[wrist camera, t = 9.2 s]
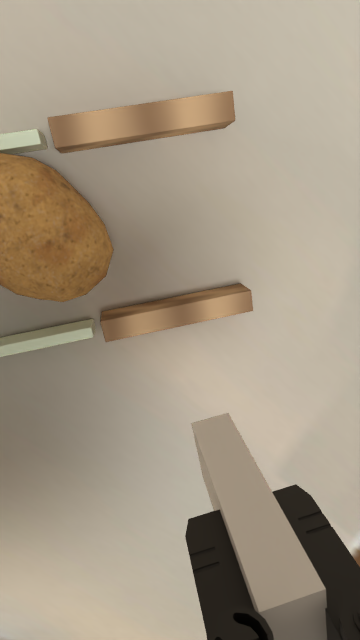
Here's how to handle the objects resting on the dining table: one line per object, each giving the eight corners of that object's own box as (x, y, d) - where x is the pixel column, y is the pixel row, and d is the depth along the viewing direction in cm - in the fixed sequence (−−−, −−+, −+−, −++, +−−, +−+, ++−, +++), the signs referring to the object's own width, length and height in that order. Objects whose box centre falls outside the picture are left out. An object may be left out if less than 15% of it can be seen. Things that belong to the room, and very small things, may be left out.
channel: (106, 330, 34) (105, 342, 31) (54, 126, 28) (47, 117, 25) (242, 302, 35) (253, 310, 32) (221, 101, 29) (232, 90, 26)
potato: (-24, 118, 27) (-80, 85, 19) (133, 219, 31) (138, 224, 23) (-73, 228, 28) (-142, 237, 21) (82, 309, 33) (70, 340, 25)
